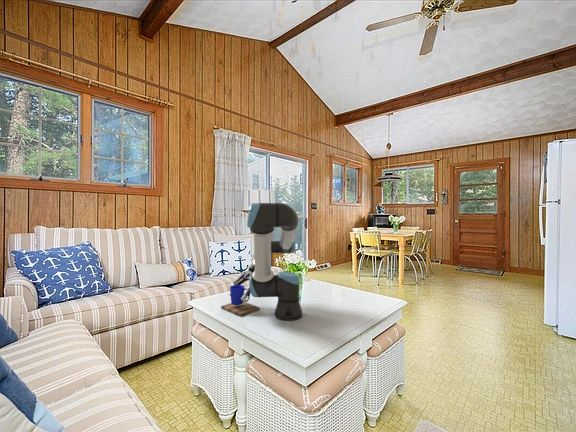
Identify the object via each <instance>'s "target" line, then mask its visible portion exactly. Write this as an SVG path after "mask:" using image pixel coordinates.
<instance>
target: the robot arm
mask: <svg viewBox="0 0 576 432" xmlns="http://www.w3.org/2000/svg"><path fill="white" fill-rule="evenodd" d="M246 223H247V224H246V226H247V228H249V229H250V232H251V233H252V234H253V253H254V254H253V256H254V258H253V261H252V262H251V264H250V266H249V267H248V271H247V272H246V271H243V272H242V273H241V275H239V276H238V277H237V278H236V279H235V280H234V281H233V283H232V284H233V285H242V284H244V283H245V282H247V281H249V285H248V287H247V290H245V291H244V295H243V296H242V298H241V299H242V300H243V302H245V300H248V296H249V295H250V296H252V297H254V298H277V303H276V306H275V310H274V316H275V318H276V319H278V320H281V321H296V320H300V319H302V317H303V310H302V306H301V303H300V277H299V275H298V274H296V273H295V272H292V271H279V272H278V273H277V274H275V272H274V270H272V256H273V255H274V254H288V255H289V254H295V252H296V241H294V238H295V232H296V229H297V228H298V227H299V226H298V225H299V218H298V213H296V211H295V210H294V208H292V207H291V206H290V205H288V204H286V203H283V202H268V203H267V202H256V203H255V202H254V203H250V205H249V206H248V213H247V222H246ZM275 228H280V235H279V240H272V233H273V232H274V231H275ZM248 289H249V290H248ZM228 295H229V296H230V297H231V294H230V292H228Z"/></svg>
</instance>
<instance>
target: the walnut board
mask: <svg viewBox="0 0 576 432" xmlns="http://www.w3.org/2000/svg"><path fill="white" fill-rule="evenodd" d="M220 309H221V310H224V311H225V312H228V313H230V314H233V315H236V316H238V317H243V316H246V315H249V314H251V313H255V312H257V311H260V306H258V305H254V304H251V303H249V302H244V301H243V303H242V304H241V305H233V304H232V303H231V302H230V303H228V304H223V305H221V306H220Z"/></svg>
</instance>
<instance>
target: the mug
mask: <svg viewBox="0 0 576 432" xmlns="http://www.w3.org/2000/svg"><path fill="white" fill-rule="evenodd" d="M247 289H248V287H246V288H245V285H242V284H241V285H234V284H233V285H231V286H230V287H229V293H230V294H231V296H230V303H232V304H233V305H241V304H242V303H243V302H244V301H243V300H242V299H241V298H242V296H243V295H244V293H245V292H246V290H247ZM248 290H249V289H248ZM250 297H251V294H250V295H249V296H248V297H247V299H246V300H245V302H246V303H248V302H249V300H250Z"/></svg>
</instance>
